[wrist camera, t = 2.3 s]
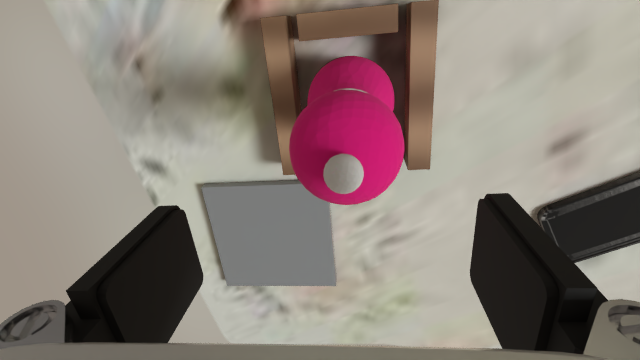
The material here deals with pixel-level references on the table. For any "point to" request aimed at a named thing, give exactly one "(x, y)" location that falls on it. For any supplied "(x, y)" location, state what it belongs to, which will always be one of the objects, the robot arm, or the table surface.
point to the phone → (595, 219)
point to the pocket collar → (356, 24)
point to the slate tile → (271, 233)
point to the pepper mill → (347, 133)
